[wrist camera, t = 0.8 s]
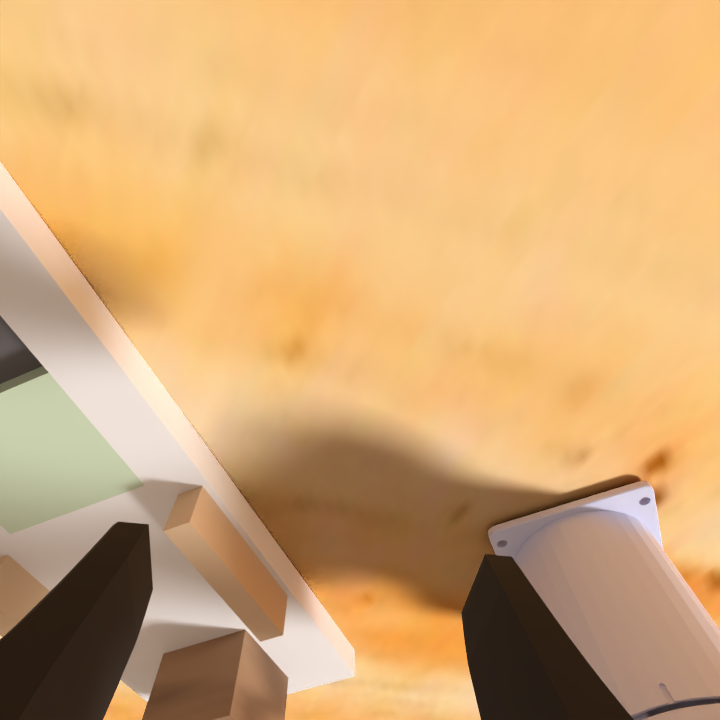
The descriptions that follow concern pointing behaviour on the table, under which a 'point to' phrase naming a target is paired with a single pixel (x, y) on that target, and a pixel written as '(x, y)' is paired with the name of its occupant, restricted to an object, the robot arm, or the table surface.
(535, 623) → the robot arm
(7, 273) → the deck
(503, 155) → the table surface
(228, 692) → the walnut block
